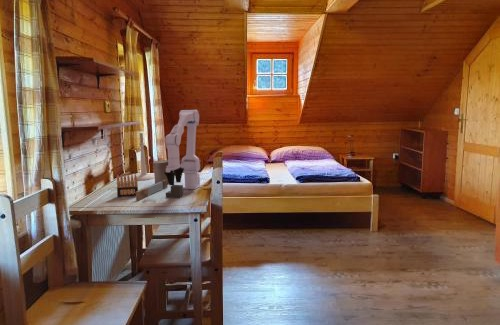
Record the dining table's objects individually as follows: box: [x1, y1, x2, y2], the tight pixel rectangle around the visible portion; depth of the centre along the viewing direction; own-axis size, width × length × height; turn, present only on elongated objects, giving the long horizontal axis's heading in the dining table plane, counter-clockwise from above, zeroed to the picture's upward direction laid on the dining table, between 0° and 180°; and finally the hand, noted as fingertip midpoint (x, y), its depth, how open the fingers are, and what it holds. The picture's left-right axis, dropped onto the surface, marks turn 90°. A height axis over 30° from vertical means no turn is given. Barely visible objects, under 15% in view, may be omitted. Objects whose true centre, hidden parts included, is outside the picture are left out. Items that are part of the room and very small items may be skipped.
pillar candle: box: [152, 159, 169, 185], centre depth 229 cm, size 10×10×15 cm
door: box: [146, 182, 164, 196], centre depth 208 cm, size 16×1×4 cm, turn 164°
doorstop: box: [165, 184, 184, 199], centre depth 197 cm, size 8×4×6 cm, turn 74°
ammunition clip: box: [116, 173, 139, 198], centre depth 200 cm, size 11×2×12 cm, turn 100°
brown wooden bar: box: [135, 180, 168, 202], centre depth 205 cm, size 30×2×5 cm, turn 164°
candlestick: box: [136, 132, 155, 182], centre depth 245 cm, size 13×13×30 cm
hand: (175, 183), depth 196 cm, fingers open, 7 cm apart
